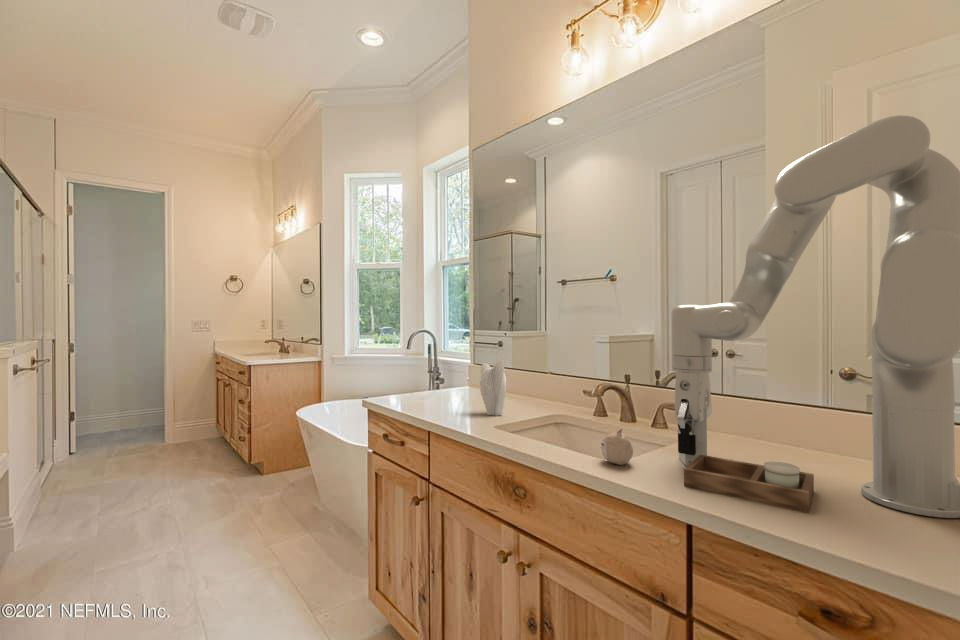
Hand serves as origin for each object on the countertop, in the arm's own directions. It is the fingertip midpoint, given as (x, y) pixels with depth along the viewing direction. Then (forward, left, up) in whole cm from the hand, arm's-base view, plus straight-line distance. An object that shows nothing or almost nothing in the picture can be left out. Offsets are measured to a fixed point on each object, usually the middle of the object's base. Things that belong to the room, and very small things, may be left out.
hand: (692, 448), depth 94 cm
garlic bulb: (+12, +10, -3) cm, 16 cm away
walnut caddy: (-12, +10, -3) cm, 15 cm away
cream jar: (-17, +10, -3) cm, 19 cm away
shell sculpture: (+62, -12, -3) cm, 63 cm away
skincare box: (0, 0, -3) cm, 3 cm away
